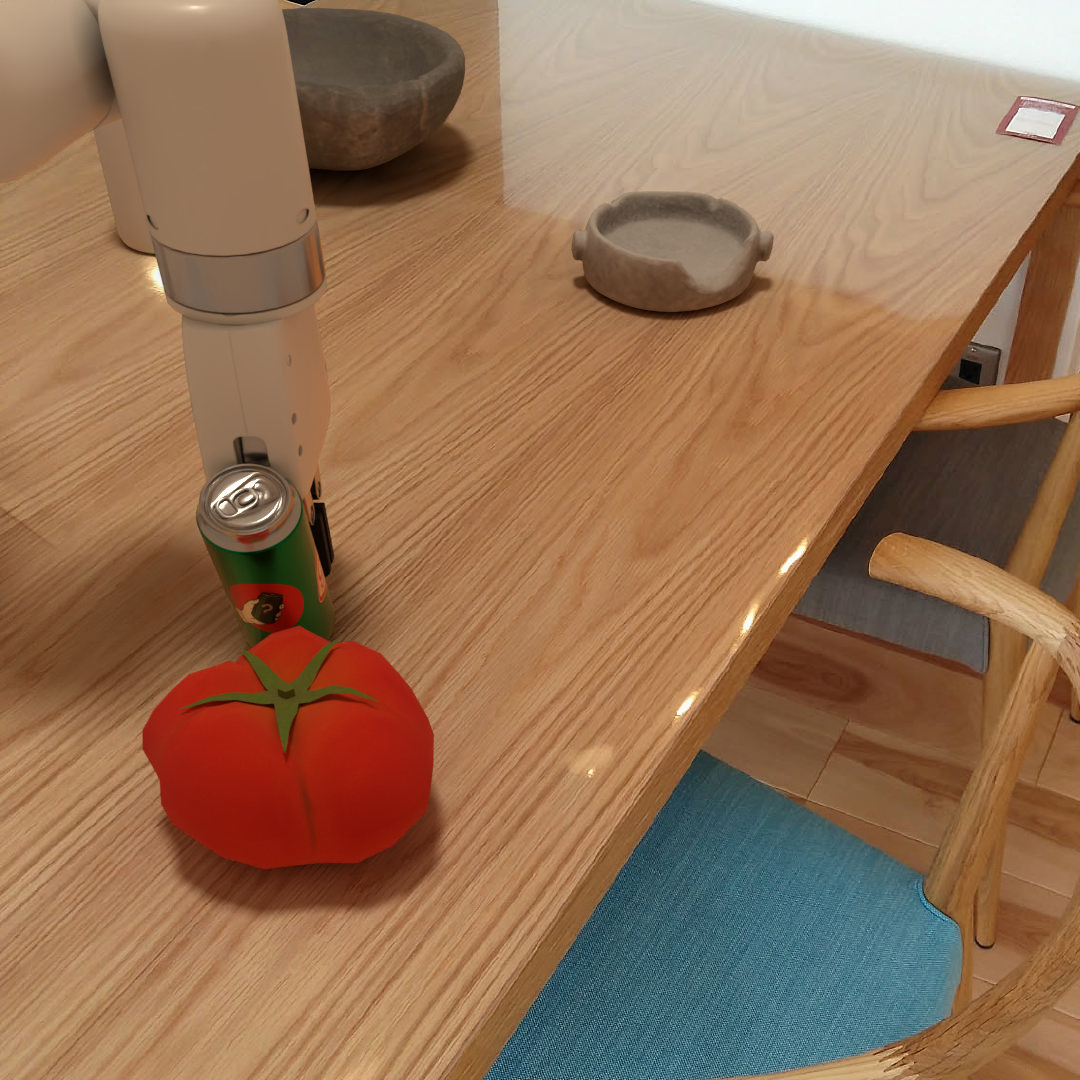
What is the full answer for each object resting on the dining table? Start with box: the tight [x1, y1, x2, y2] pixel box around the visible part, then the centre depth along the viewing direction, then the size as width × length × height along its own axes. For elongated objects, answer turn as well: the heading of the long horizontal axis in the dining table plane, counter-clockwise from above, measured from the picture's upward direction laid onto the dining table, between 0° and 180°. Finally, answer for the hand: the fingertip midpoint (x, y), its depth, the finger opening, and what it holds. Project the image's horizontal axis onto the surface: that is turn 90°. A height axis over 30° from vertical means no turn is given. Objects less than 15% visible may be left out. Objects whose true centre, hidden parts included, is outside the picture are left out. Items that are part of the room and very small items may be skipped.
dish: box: [571, 190, 775, 313], centre depth 111 cm, size 14×14×5 cm
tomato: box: [141, 626, 435, 870], centre depth 66 cm, size 14×13×9 cm
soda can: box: [195, 463, 336, 649], centre depth 72 cm, size 5×5×12 cm
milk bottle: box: [92, 118, 155, 255], centre depth 104 cm, size 8×8×20 cm
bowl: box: [282, 7, 466, 172], centre depth 122 cm, size 23×22×10 cm
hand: (304, 568), depth 78 cm, fingers closed
